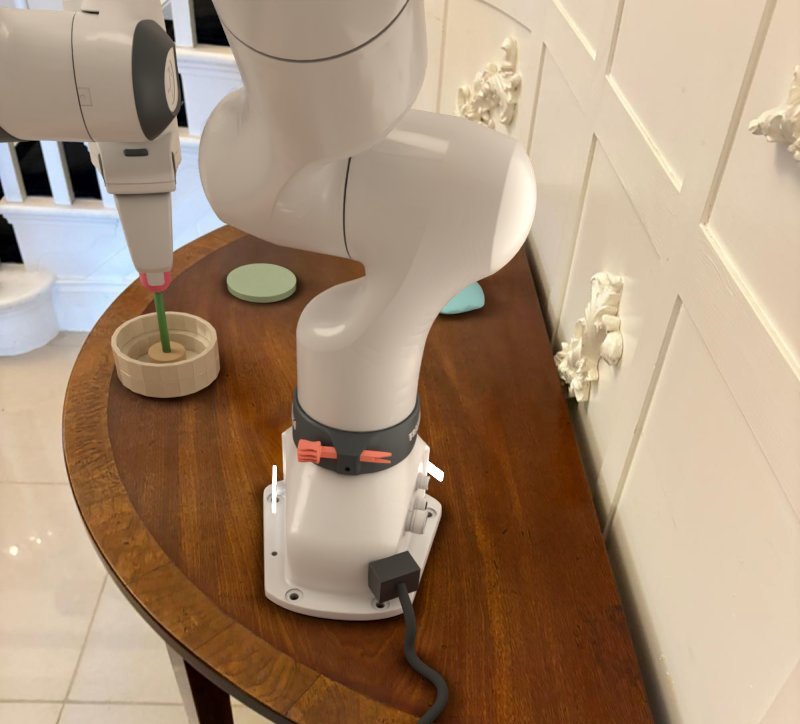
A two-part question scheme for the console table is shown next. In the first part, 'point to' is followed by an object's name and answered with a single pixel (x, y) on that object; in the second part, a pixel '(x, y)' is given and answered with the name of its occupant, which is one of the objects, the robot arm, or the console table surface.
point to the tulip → (163, 327)
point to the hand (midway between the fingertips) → (154, 272)
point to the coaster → (261, 283)
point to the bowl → (166, 377)
